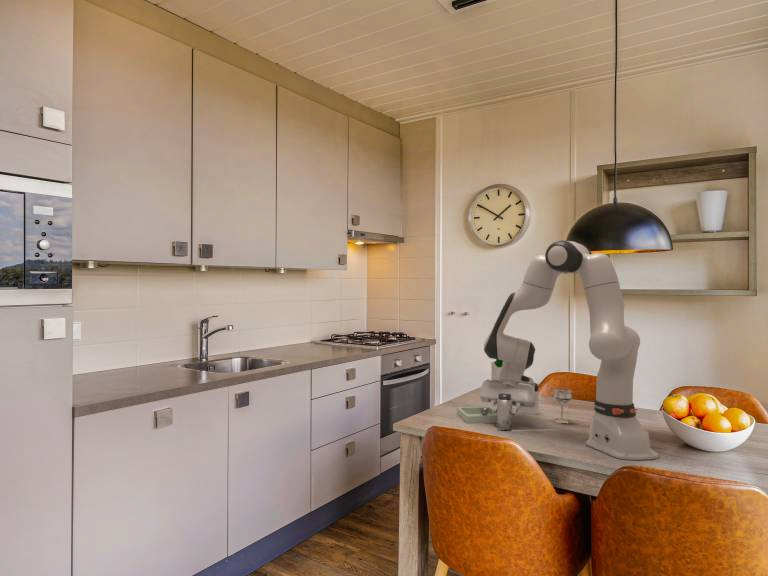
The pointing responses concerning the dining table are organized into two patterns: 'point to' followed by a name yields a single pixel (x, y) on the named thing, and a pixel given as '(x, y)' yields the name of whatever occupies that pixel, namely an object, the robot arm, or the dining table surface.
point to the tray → (476, 415)
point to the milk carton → (496, 369)
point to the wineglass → (562, 400)
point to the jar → (536, 408)
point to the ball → (484, 411)
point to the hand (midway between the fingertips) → (504, 413)
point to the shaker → (504, 412)
